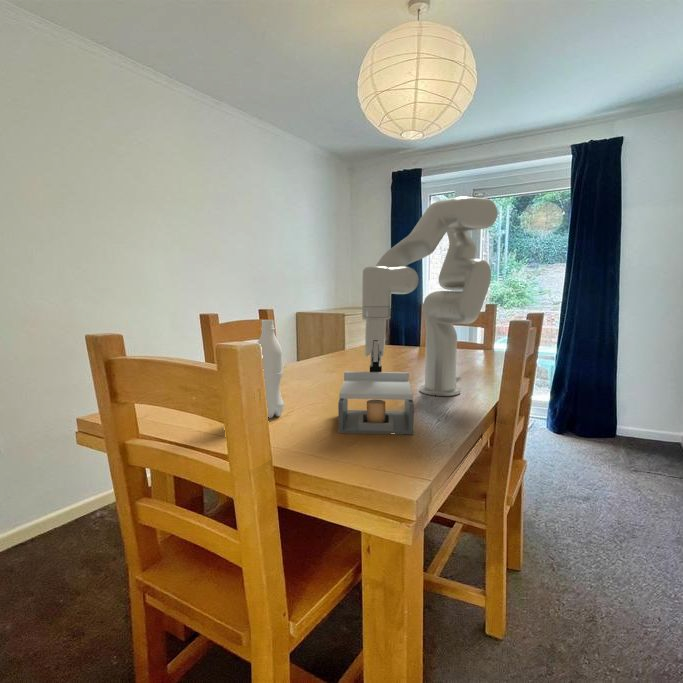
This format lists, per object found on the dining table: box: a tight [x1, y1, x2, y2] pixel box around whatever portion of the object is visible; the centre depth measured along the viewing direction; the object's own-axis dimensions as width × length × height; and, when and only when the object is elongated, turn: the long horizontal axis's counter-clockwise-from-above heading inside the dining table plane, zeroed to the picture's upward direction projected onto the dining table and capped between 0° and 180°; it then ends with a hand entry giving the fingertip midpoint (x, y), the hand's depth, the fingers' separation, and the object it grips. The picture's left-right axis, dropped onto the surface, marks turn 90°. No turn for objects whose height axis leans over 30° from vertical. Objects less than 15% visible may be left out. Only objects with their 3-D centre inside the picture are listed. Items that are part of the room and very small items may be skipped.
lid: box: [338, 371, 414, 401], centre depth 102 cm, size 15×17×3 cm
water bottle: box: [257, 319, 285, 419], centre depth 105 cm, size 7×7×25 cm
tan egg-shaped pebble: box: [366, 399, 386, 423], centre depth 97 cm, size 4×4×6 cm
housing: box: [337, 398, 415, 435], centre depth 100 cm, size 15×17×7 cm
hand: (375, 380), depth 112 cm, fingers closed
